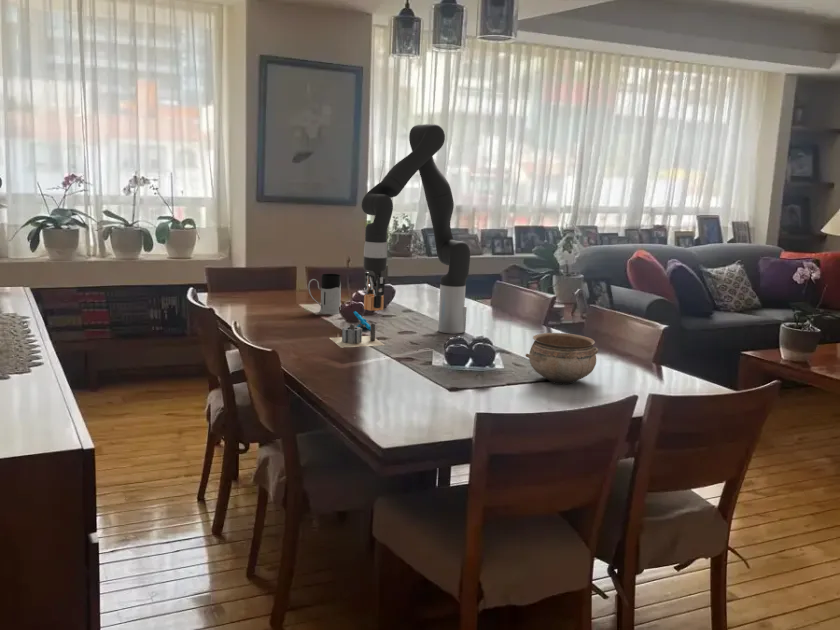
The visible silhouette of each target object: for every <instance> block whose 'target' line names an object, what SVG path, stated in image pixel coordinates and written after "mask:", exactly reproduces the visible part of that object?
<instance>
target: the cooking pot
mask: <svg viewBox="0 0 840 630" xmlns="http://www.w3.org/2000/svg"><path fill="white" fill-rule="evenodd" d="M532 339H533V340H534V341H533V343H532V345H531V347H530V350H529V353H525V355H524V356H525V357H526V358H528V360H529V362H530V363H529V364H530V366H531V367H532V369H533V370H534V371H535V372H536V373H538V374H539V375H540V376H541V377H543V378H545V379H547V380H548V381H549V382H550V383H553V384H557V385H570V384H572V383H575V382H577V381H580V380H582V379H584V378H585V377H587V376H589V375H590V374H591V373H592V372H593V370H594V369H595V367H596V365H597V354H598V353H599V348H598V347H594V345H595V344H596V341H595V340H594V339H593V338H590V337H587V336H584V335H580V334H573V333H567V332H566V333H564V332H545V333H538V334H535V335H533V336H532Z"/></svg>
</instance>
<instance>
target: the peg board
mask: <svg viewBox="0 0 840 630" xmlns="http://www.w3.org/2000/svg"><path fill="white" fill-rule="evenodd" d="M370 326H371V330H369V332H370V334H369V335H362V342H360V343H358V344H356V343H355V344H349V343H343V342H342V336H340V337H339V336H338V337H329V339H330V340H331V341H332V342H333V343H335V344H336V345H337V346H338V347H339V348H342V349H343V348H356V347H357V348H358V347H360V348H362V347H378V346H379V347H380V346H385V344H384V343H383V342H382V341H380V340H378V339H377V338H376V323H375V322H371V323H370ZM349 327H350V329H353V330H354V329H355V327H356V326H355V324H354V323H350V324H349Z"/></svg>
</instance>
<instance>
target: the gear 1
mask: <svg viewBox="0 0 840 630" xmlns="http://www.w3.org/2000/svg"><path fill="white" fill-rule="evenodd" d="M362 336H363V328H362V327H357V326H355V329H354V330H353V329H350V326H344V327H342V328H341V337H342V342H343V343H349V344H355V343H356V344H358V343H360V342H362Z"/></svg>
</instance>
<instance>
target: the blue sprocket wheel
mask: <svg viewBox="0 0 840 630" xmlns="http://www.w3.org/2000/svg"><path fill="white" fill-rule="evenodd" d="M353 314H354V316H355V317H356V318H357V319H358V321H359V323H358V324H357V326H356V327H361V328H362V327H363V326H365V327H366V329H367V330H369V331H370V330H371V324H370V323H368V322H367V321H368V320H367V319H366V318H364V317H363V316H362V315H361V314H359V312H357V311H356V310H355V311H353Z"/></svg>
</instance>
